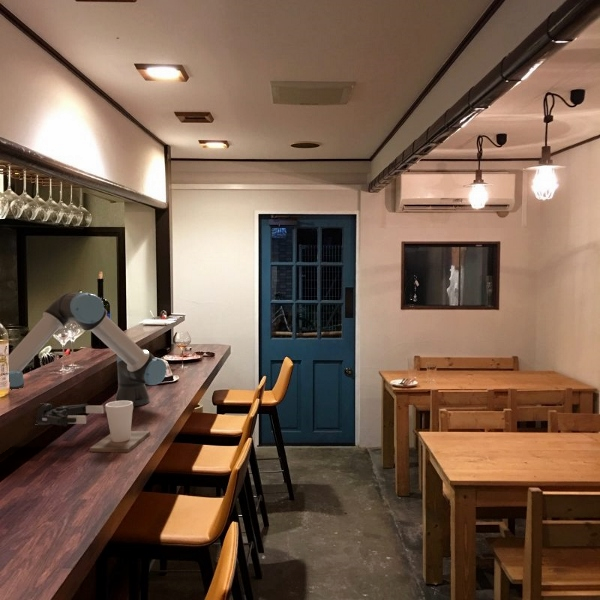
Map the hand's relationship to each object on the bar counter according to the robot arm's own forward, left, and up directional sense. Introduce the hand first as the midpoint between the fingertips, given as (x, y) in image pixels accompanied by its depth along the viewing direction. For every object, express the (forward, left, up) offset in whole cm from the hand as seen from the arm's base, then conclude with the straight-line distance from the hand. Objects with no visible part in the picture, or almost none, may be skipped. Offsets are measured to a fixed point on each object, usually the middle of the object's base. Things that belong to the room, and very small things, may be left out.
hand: (94, 414), depth 220 cm
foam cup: (0, +9, -9) cm, 13 cm away
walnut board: (0, +10, -10) cm, 14 cm away
